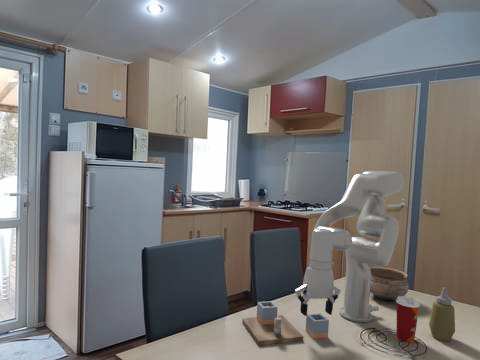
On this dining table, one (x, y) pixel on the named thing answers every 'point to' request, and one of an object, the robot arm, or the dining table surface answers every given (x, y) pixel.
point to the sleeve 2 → (317, 325)
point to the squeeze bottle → (442, 317)
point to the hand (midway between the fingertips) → (316, 313)
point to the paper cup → (407, 318)
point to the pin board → (272, 331)
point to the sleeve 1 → (266, 312)
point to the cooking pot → (388, 283)
